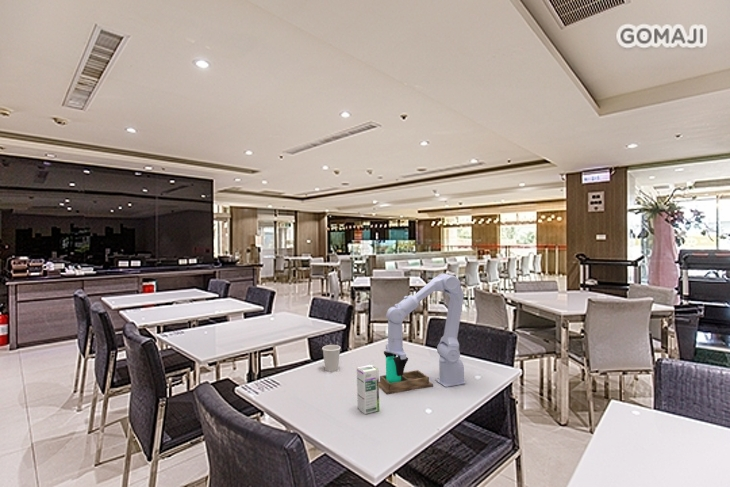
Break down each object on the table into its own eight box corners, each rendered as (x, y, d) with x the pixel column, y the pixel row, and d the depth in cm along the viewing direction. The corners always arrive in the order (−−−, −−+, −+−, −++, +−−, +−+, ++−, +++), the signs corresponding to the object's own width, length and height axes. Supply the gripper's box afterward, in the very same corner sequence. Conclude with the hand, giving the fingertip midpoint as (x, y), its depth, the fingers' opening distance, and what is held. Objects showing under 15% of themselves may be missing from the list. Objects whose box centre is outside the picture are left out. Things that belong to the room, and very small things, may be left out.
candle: (399, 388, 142) (398, 357, 142) (384, 386, 144) (383, 356, 144) (402, 382, 148) (402, 353, 148) (388, 381, 150) (387, 351, 150)
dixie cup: (344, 368, 168) (344, 346, 168) (333, 374, 161) (333, 351, 161) (330, 365, 173) (329, 343, 173) (318, 370, 166) (318, 348, 166)
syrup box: (364, 415, 123) (364, 371, 123) (356, 407, 129) (356, 366, 129) (379, 411, 126) (379, 368, 126) (371, 404, 131) (370, 363, 131)
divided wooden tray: (420, 377, 156) (419, 369, 156) (432, 386, 147) (432, 377, 147) (376, 384, 149) (376, 375, 149) (386, 394, 140) (386, 385, 139)
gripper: (378, 334, 152) (379, 367, 152) (394, 343, 138) (394, 380, 138) (394, 332, 154) (394, 365, 154) (410, 341, 141) (411, 377, 141)
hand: (395, 372), depth 146 cm, fingers open, 7 cm apart
